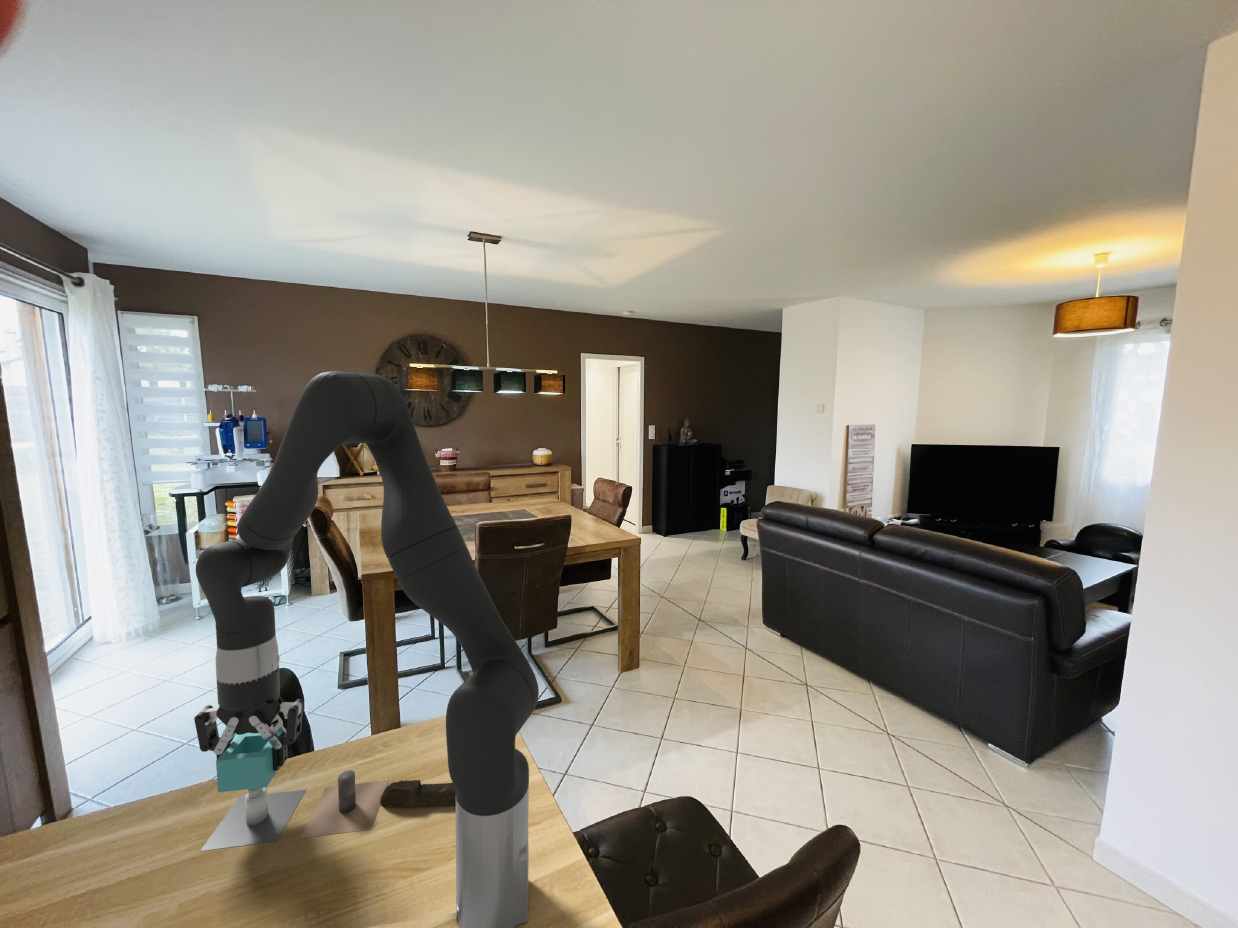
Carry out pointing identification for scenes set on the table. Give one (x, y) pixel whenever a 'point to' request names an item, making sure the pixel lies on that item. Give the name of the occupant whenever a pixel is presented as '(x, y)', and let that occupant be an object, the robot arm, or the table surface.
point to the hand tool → (418, 795)
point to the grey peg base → (255, 819)
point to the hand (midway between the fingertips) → (253, 768)
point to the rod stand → (345, 807)
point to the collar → (245, 764)
